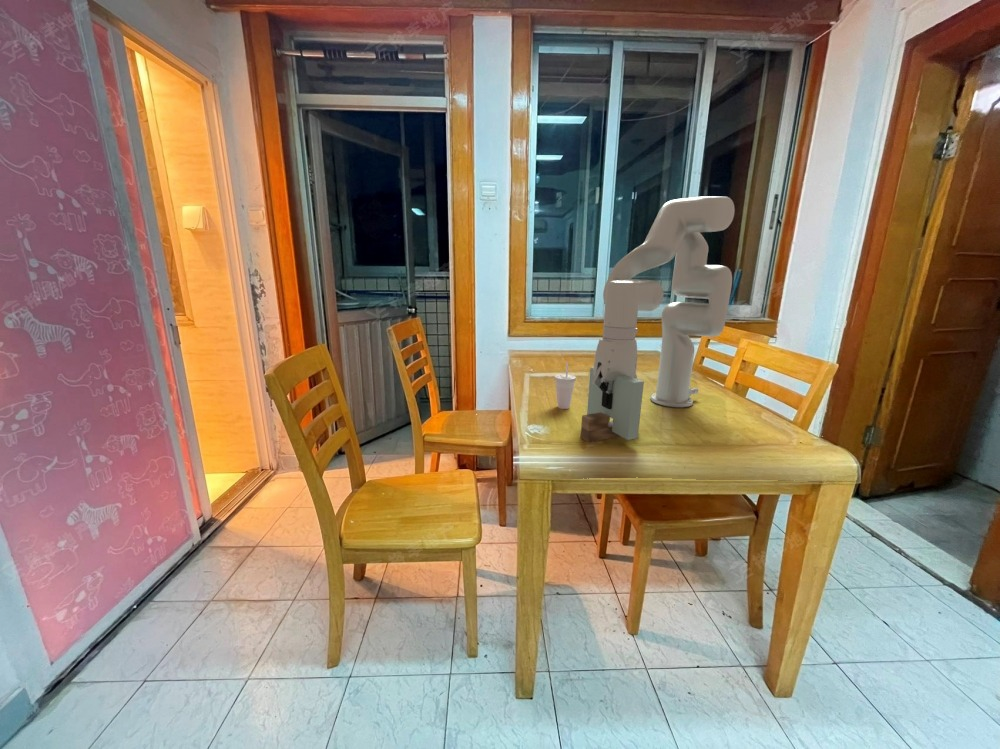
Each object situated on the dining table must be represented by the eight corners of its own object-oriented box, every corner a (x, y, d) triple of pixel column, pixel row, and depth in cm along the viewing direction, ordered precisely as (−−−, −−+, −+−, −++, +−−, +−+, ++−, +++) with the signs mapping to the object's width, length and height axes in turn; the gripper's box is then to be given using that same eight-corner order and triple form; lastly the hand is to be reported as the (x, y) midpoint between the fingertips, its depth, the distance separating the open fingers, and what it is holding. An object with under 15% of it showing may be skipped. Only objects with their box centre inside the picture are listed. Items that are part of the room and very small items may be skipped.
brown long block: (630, 428, 107) (632, 407, 106) (638, 432, 105) (640, 410, 103) (580, 437, 101) (582, 415, 99) (587, 442, 98) (589, 419, 97)
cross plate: (586, 417, 108) (590, 367, 105) (595, 416, 110) (599, 366, 106) (627, 440, 94) (633, 382, 91) (637, 438, 96) (643, 381, 92)
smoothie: (563, 412, 119) (566, 366, 115) (548, 406, 124) (550, 361, 120) (578, 407, 123) (581, 363, 119) (563, 402, 128) (566, 359, 124)
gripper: (634, 329, 103) (627, 398, 107) (581, 333, 96) (576, 406, 101) (656, 334, 96) (648, 407, 101) (601, 338, 89) (595, 415, 94)
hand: (612, 405), depth 101 cm, fingers closed on cross plate, 3 cm apart
